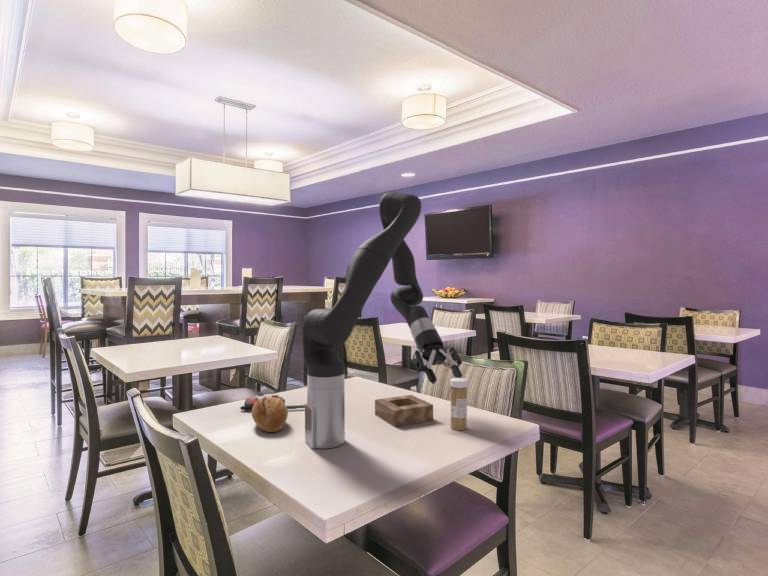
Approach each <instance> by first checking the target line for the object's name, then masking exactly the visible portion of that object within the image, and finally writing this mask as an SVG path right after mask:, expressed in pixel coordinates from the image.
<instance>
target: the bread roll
mask: <svg viewBox="0 0 768 576" xmlns="http://www.w3.org/2000/svg"><path fill="white" fill-rule="evenodd" d="M286 406H287V405H286V402H285V403H284V402H283V401H282V400H281V399H280V398H276V397H272V396H268V397H263V398H260V399H258V400H257V401H256V402H255V404H254V406H253V408H252V411H251V417H252V419H253V421H254V423H255V424H256V426H257V427H258V428H259V429H260V430H262V431H265V432H270V433H276V432H277V431H280V430H281V429H282V428H283V427H284V425H285V424H286V422H287V419H288V416H289V415H288V414H289V412H288V409H287V407H286Z"/></svg>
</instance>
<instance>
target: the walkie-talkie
mask: <svg viewBox="0 0 768 576" xmlns="http://www.w3.org/2000/svg"><path fill="white" fill-rule="evenodd" d="M264 397H267V398H268V397H276V398H280V399H281V400H282V401H283V402H284V403H285V404H286V400H285V398H283V397H282V396H280V395H279V394H277V393H267V394H266V393H265V394H264V395H262V396H261V397H259V396H258V395H255V397H251V398H250V397H249V398H245V400H244V404H243V405H244V406H243V405H242V406H240V407H239V408H240V410H242V411H244V412H252V408H253V406H254V404H255V402H256V401H257V400H258V399H260V398H264ZM286 407H287V410H297V409H305V404H299V405H286Z"/></svg>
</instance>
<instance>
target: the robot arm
mask: <svg viewBox="0 0 768 576" xmlns="http://www.w3.org/2000/svg"><path fill="white" fill-rule="evenodd" d="M378 207H379V208H378V209H379V210H378V211H379V216H380V221H381V225H382V228H383V230H382V231H380V232H378V233H376V234H375V235H373V236H372V237H370V238H367V240H365V241H364V242H362V244H360V245H359V246H358V248H357V250H355V252H354V253H353V256H352V257H351V258H350V260H349V262H348V264H347V265H346V272H345V286H344V289H343V291H342V293H341V295H340V297H339V299H338V300H337V302H336V303H335V304H334V306H333V307H332V308H331V309H330V308H328V309H327V308H314V309H312V310H310V311H309V312H308V313H307V314H306V316H305V318H304V321H303V324H302V325H303V326H302V349H303V350H302V351H303V360H304V361H303V362H304V364H305V366H306V377H307V378H306V379H307V381H306V384H307V386H306V387H307V389H306V390H307V401H306V403H305V404H304V405H305V408H304V442H305V443H306V444H307V445H308V446H309V447H310V448H311V449H333V448H338V447H340V446H342V445H344V443H345V441H346V431H345V429H346V428H345V423H346V422H345V421H346V420H345V417H346V416H345V413H346V408H345V407H346V405H345V401H346V400H345V397H346V396H345V395H346V393H345V389H346V388H345V383H346V382H345V378H346V377H345V376H346V375H345V369H346V368H345V362H344V361H343V359H341V358H340V357H339V356H338V355H337V353H336V352H335V348H339V347H341V346H343V345H344V344H345V343H346V342H347V341H348V339H349V338H350V336H351V334H352V332H353V331H354V328H355V327H356V324H357V321H358V319H359V317H360V315H361V312H362V311H363V308H364V306H365V304H366V302H367V301H368V299H369V297H370V296H371V294H372V292H373V290H374V288H375V287H376V285H377V283H378V282H379V280H380V279H381V277H382V275H383V273H384V272H385V271H386V269H387V267H388V265H389V263H390V261H391V263H392V271H393V278H394V282H395V284H397V285H399V286H401V287H398V288H395V289H393V290H392V291H391V293H390V302H391V304H392V305H393V307H394V308H395V310H396V311H398V313H399V314H400V315H401V316H402V317H403V319H405V321H406V324H407V325H408V328H409V329H410V333H411V335H412V339H413V340H414V342H415V345H416V347H417V349H418V350H415V351H414V353H413V355H412V359H413V362H414V364H415V367H416V369H417V371H418V373H422V372H423V373H424V374H425V376H426V378H427V379H428V381H429V382H430V383H431V385H432V384H434V385H435V384H436V382H437V381H438V378H437V376H436V374H435V372H434V370H433V369H432V366H436V365H438V366H441V365H443V366H444V367H448V368H449V369H450V370H451V372H452V374H453V377H454V378H463V374H462V371H461V369H460V366H461V365H462V364H463V360H462V359H461V357H460V356H459V354H458V353H457V350H456V349H455V348H454V346H453V347H450V349H446V348H445V347H444V343H443V339H442V338H441V335H440V334H439V332H438V330H437V328H436V327H435V325H434V323H433V321H432V320H431V318H430V316H429V314H428V313H427V310H426V309H425V307H424V306H422V305H421V303H422V302H423V300H424V293H423V291H422V288H421V287H420V284H419V281H418V279H417V272H416V262H415V261H416V260H415V257H414V255H413V252H412V250H411V248H410V247H409V245H408V244H407V242H406V241H405V238H406V237H407V236H408V234H409V233H410V232H411V230H412V229H413V228H414V226H415V224H416V223H417V222H418V220H419V217H420V216H421V211H422V201H421V199H420V197H418V196H417V195H416V194H415V195H414V194H410V193H403V192H395V191H387V192H386V193H383V195H382V196H381V198H380V201H379V206H378ZM423 359H424V360H425V361H426V362H425V364H424V360H423ZM446 360H447V361H446Z"/></svg>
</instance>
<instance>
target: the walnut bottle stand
mask: <svg viewBox="0 0 768 576" xmlns="http://www.w3.org/2000/svg"><path fill="white" fill-rule="evenodd" d="M374 415H375V416H376V417H378V418H380V419H381V420H383V421H385V422H386V423H387V424H389V425H391V426H392V427H394V428H395V427H400V426H402V427H403V426H407V425H413V424H419V423H426V422H432V421H434V405H433V404H432V403H431V402H428V401H426V400H423V399H421V398H419V397H417V396H415V395H413V394H408V395H407V394H406V395H401V396H393V397H385V398H384V397H383V398H379V399H378V398H377V399H375V400H374Z"/></svg>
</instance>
